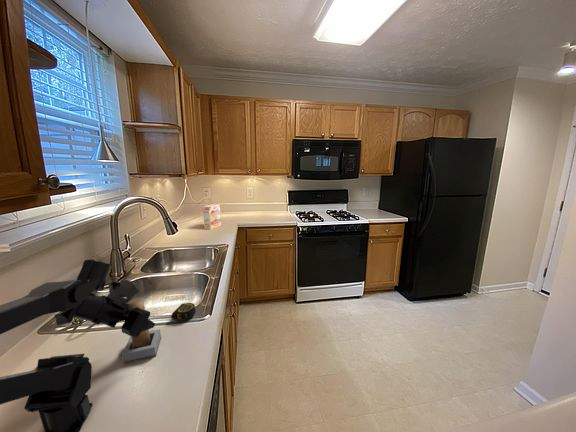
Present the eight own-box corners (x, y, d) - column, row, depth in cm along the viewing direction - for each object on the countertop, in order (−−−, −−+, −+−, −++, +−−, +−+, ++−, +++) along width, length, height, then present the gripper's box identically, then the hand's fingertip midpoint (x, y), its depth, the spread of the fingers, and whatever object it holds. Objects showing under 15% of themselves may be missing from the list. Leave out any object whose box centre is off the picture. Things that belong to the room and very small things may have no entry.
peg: (132, 355, 69) (122, 308, 66) (136, 345, 73) (127, 300, 70) (149, 351, 70) (140, 305, 67) (153, 341, 74) (144, 297, 71)
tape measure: (183, 310, 91) (181, 301, 90) (199, 311, 90) (198, 302, 89) (171, 321, 85) (170, 312, 84) (189, 323, 83) (188, 313, 83)
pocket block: (123, 363, 67) (121, 354, 66) (132, 343, 74) (130, 335, 74) (155, 356, 69) (154, 347, 68) (161, 337, 77) (159, 329, 76)
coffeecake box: (211, 229, 203) (208, 206, 199) (204, 229, 206) (201, 206, 202) (221, 225, 217) (220, 203, 213) (215, 224, 220) (213, 203, 215)
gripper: (137, 283, 59) (179, 301, 71) (94, 270, 67) (139, 288, 79) (107, 331, 54) (159, 342, 66) (65, 311, 62) (118, 324, 74)
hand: (143, 321), depth 71 cm, fingers open, 9 cm apart
